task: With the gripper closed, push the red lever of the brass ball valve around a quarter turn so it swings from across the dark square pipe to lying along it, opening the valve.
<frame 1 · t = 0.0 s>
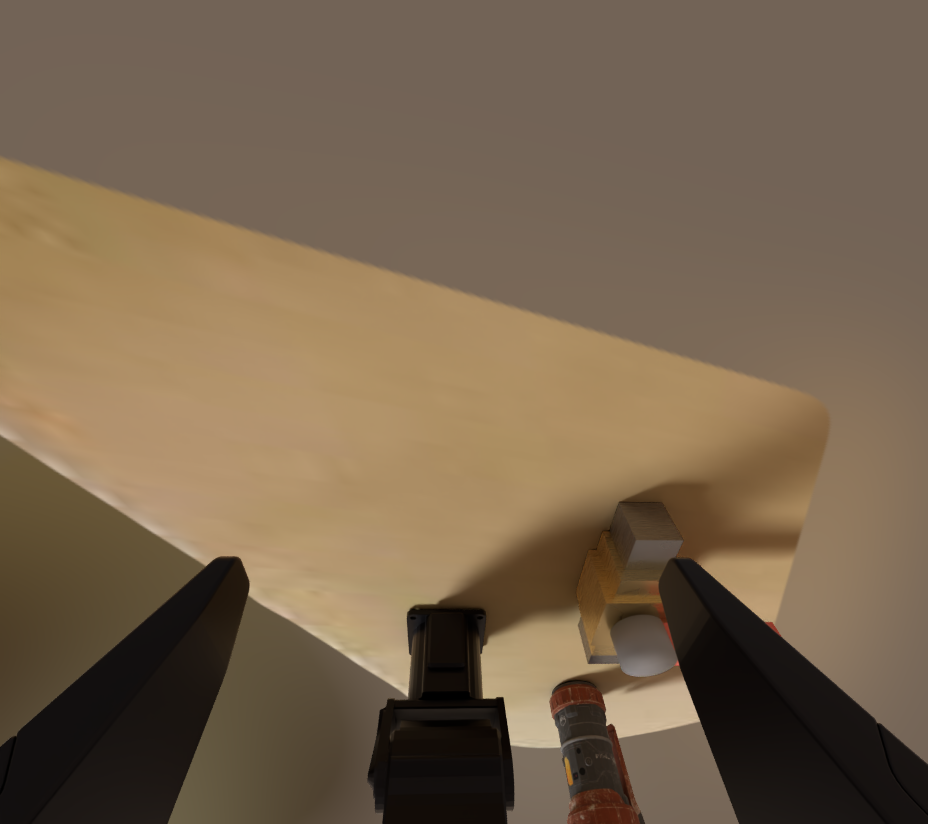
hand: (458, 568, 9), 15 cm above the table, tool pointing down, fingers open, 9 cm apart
grenade: (579, 690, 44), on the table
valve pipe: (614, 571, 33), on the table
lever: (696, 645, 28), point 6 cm above the table, hinge at 0.0°
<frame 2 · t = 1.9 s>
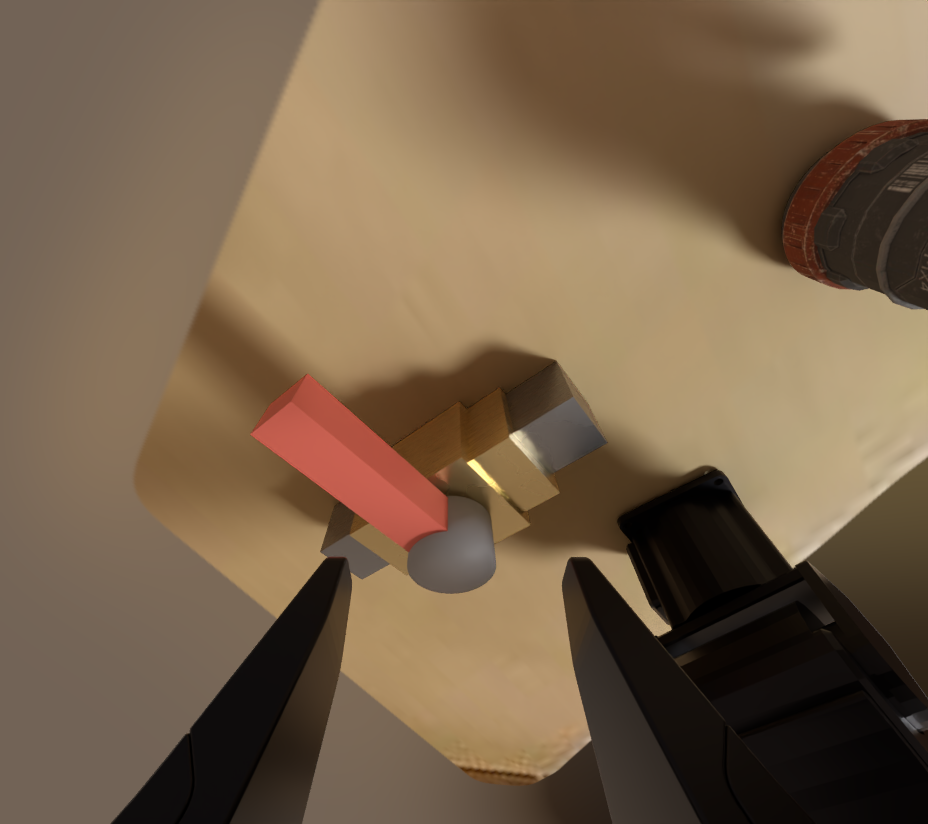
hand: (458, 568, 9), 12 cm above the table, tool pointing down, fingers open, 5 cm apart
grenade: (844, 182, 16), on the table
valve pipe: (451, 458, 23), on the table
lever: (392, 497, 16), point 6 cm above the table, hinge at 0.0°
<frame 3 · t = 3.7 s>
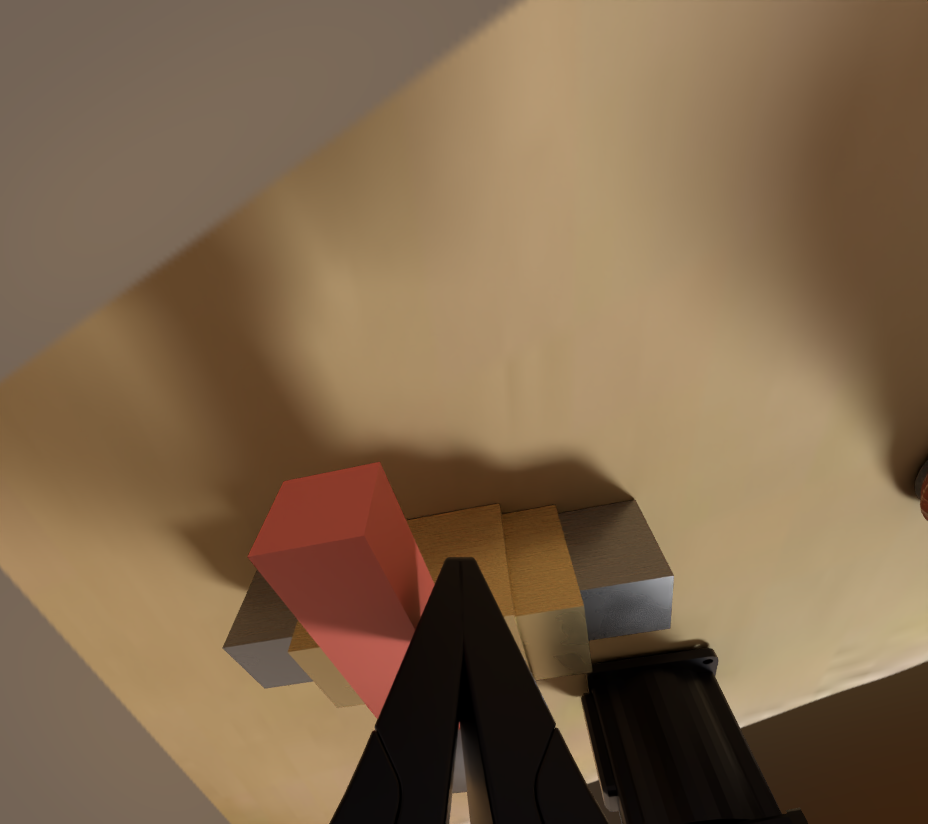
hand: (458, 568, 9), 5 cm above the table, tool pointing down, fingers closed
valve pipe: (447, 559, 17), on the table
lever: (409, 661, 10), point 6 cm above the table, hinge at 0.0°, touching gripper
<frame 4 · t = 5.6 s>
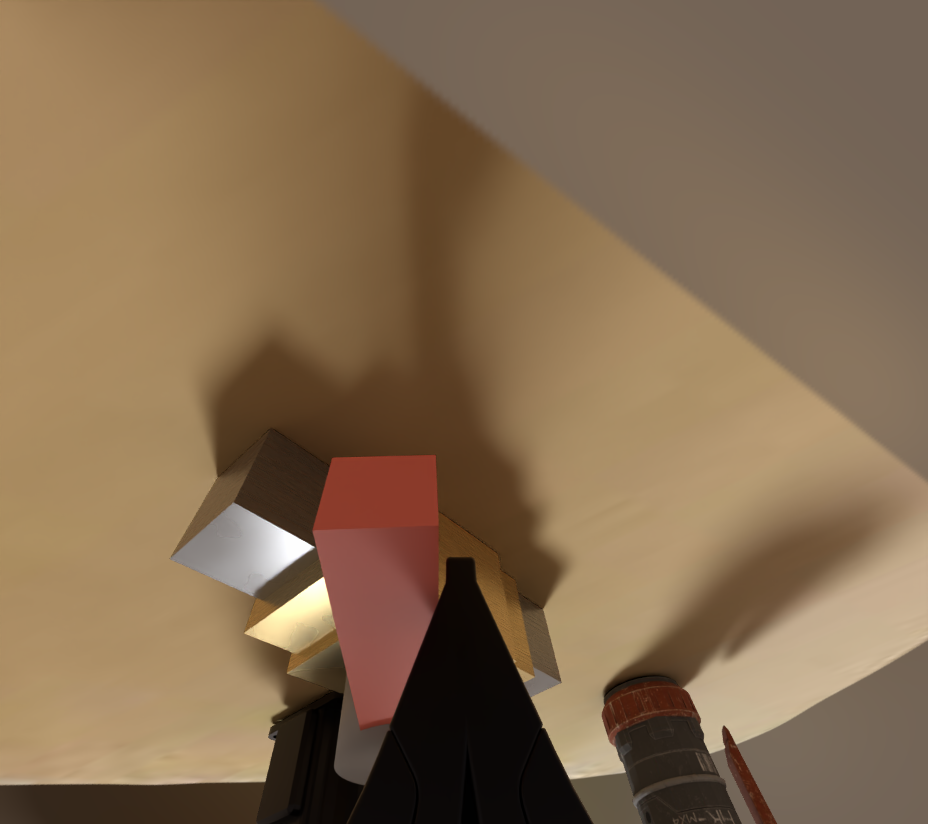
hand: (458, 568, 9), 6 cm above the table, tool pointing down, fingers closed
grenade: (650, 686, 26), on the table
valve pipe: (408, 555, 17), on the table
lever: (396, 652, 10), point 6 cm above the table, hinge at 47.0°, touching gripper
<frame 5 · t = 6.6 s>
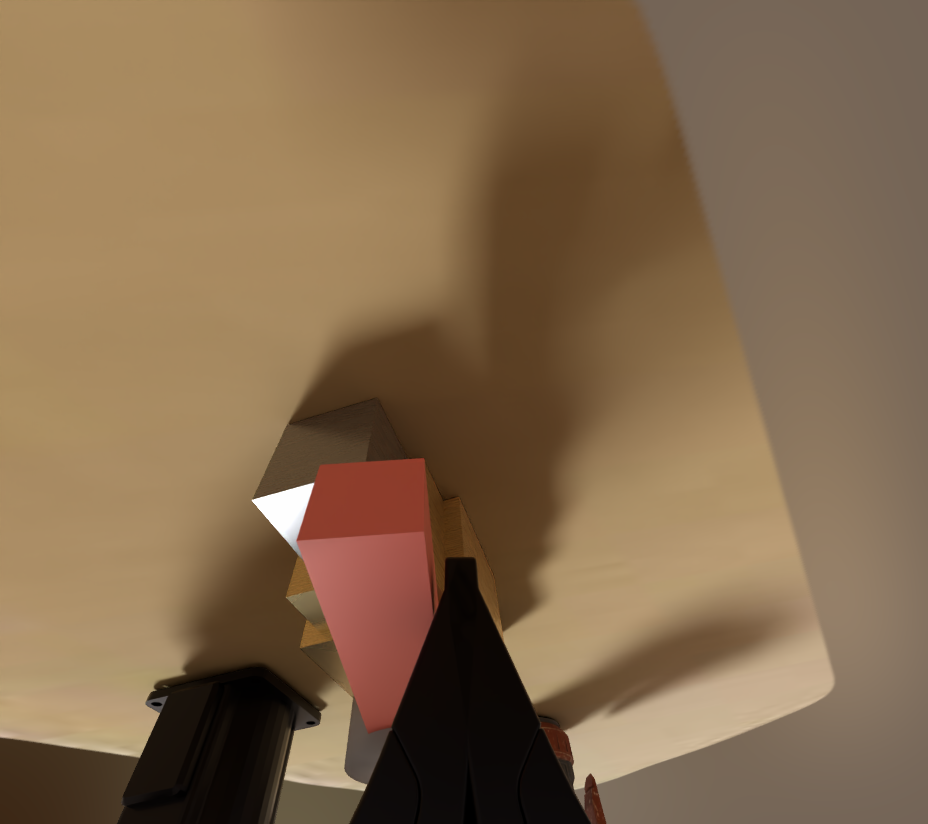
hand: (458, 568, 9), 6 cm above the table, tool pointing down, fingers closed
grenade: (535, 726, 28), on the table
valve pipe: (416, 555, 17), on the table
lever: (399, 656, 10), point 6 cm above the table, hinge at 74.5°, touching gripper
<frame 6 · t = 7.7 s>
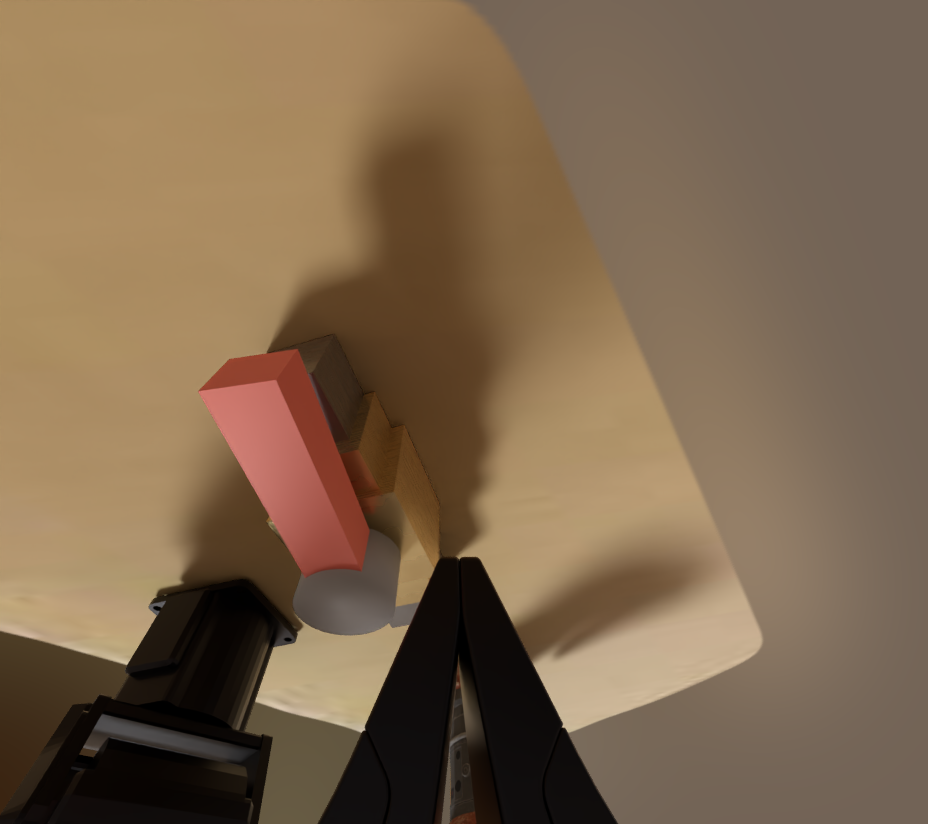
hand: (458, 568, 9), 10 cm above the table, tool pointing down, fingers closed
grenade: (489, 665, 32), on the table
valve pipe: (372, 478, 21), on the table
lever: (318, 514, 14), point 6 cm above the table, hinge at 82.5°
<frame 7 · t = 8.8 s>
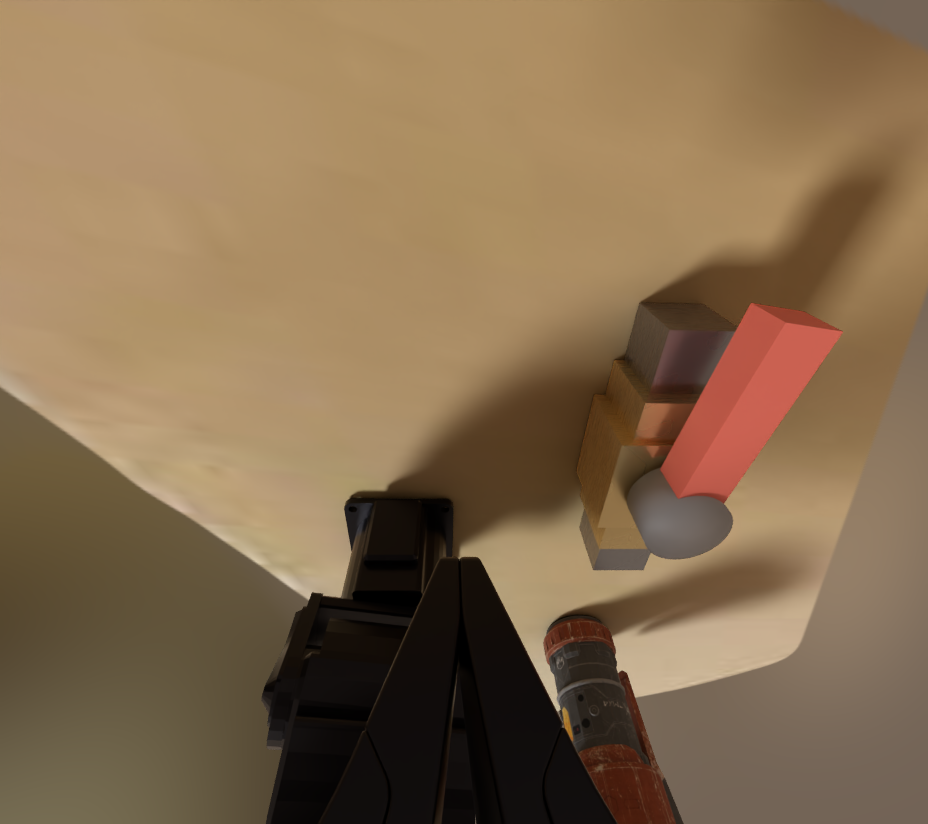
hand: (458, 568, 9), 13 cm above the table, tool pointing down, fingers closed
grenade: (581, 629, 35), on the table
valve pipe: (630, 435, 23), on the table
lever: (716, 448, 17), point 6 cm above the table, hinge at 82.6°
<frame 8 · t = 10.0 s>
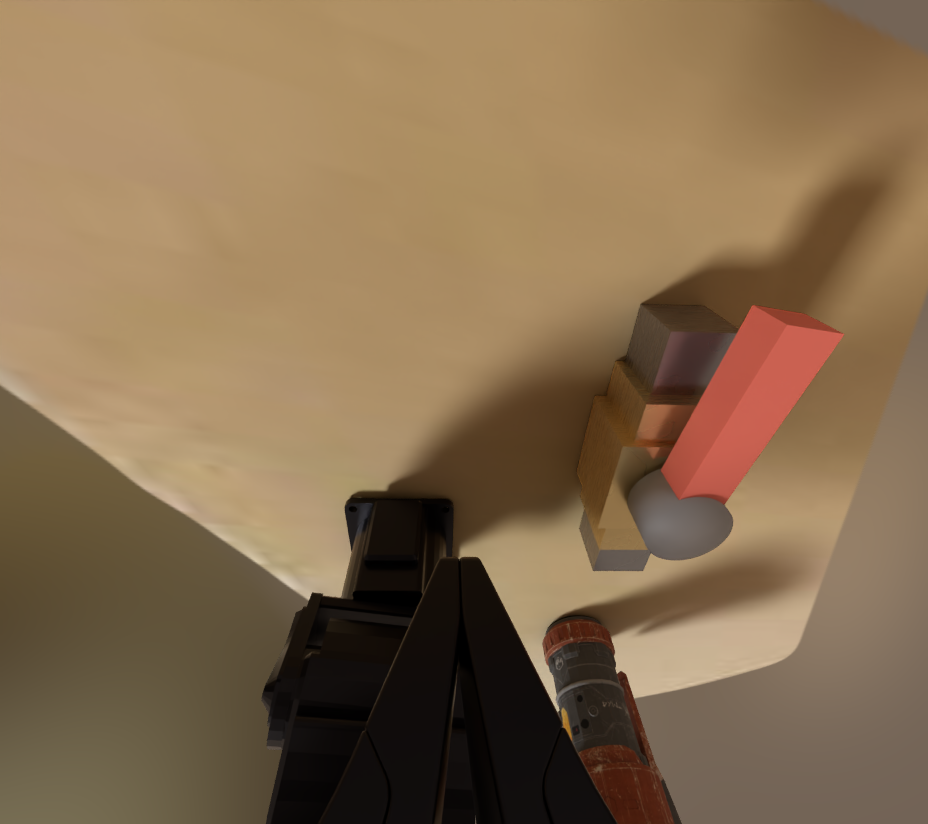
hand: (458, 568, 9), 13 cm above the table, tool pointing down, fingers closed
grenade: (580, 630, 35), on the table
valve pipe: (631, 436, 24), on the table
lever: (717, 449, 17), point 6 cm above the table, hinge at 82.6°
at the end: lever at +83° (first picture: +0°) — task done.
